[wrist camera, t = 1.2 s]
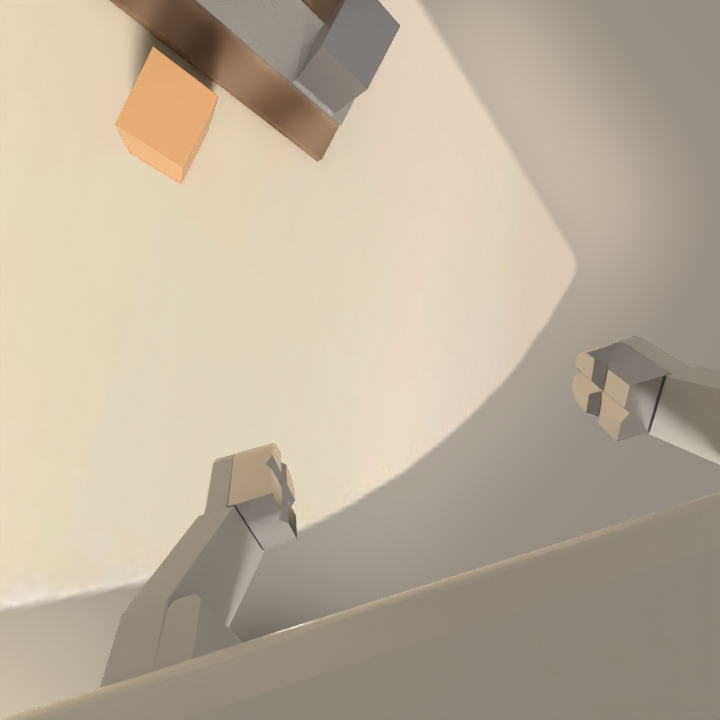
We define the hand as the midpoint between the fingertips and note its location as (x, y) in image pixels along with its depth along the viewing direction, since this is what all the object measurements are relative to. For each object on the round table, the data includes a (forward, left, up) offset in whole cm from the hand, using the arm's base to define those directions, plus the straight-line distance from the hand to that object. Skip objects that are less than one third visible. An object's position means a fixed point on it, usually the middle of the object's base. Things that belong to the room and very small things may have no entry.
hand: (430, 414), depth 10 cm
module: (-5, +12, -31) cm, 33 cm away
